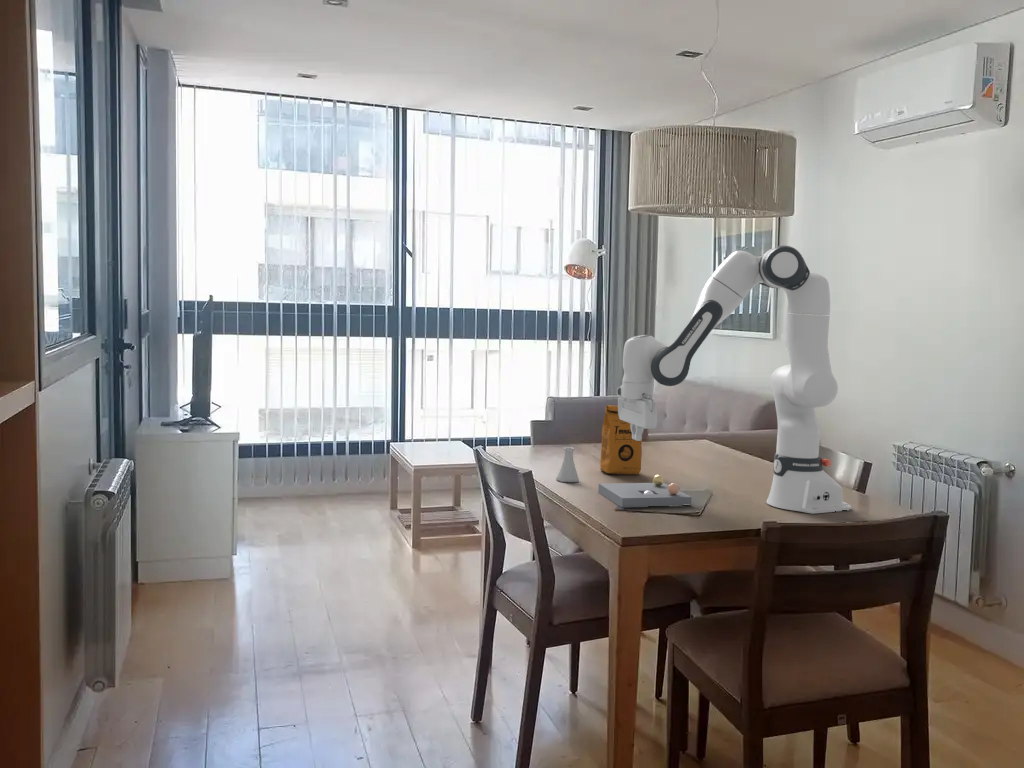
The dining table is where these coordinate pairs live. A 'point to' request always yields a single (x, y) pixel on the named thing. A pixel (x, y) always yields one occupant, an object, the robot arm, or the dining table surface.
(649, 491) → the steel ball
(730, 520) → the dining table surface
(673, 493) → the terracotta ball
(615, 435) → the coffee package
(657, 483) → the brass ball
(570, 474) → the flask
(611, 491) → the seat plate
